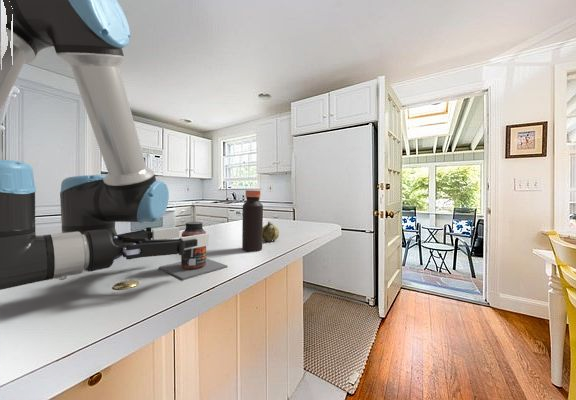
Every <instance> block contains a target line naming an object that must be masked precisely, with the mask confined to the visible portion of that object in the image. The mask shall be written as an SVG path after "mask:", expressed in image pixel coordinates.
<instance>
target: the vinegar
mask: <svg viewBox="0 0 576 400" xmlns="http://www.w3.org/2000/svg"><path fill="white" fill-rule="evenodd" d="M260 198H261V190H245V199H246V201H245V202H244V203H243V204H242V223H241V224H242V230H241V231H242V233H241V234H242V235H241V236H242V237H241V239H242V242H241V243H242V246H241V248H242V250H243V251H244V250H245V251H244V252H250V251H254V252H259V251H258V250H260V251H262V250H263V239H262V234H263V227H264V225H263V223H264V221H263V220H264V219H263V217H264V215H263V214H264V211H263V210H264V205H263V204H262V203H261V201H260Z"/></svg>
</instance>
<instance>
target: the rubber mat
mask: <svg viewBox="0 0 576 400" xmlns="http://www.w3.org/2000/svg"><path fill="white" fill-rule="evenodd" d="M158 268H159V270H162V271H164V272H166V273H168V274H170V275H171V276H174V277H176V278H178V279H180V280H182V281H185V280H189V279H192V278H195V277H199V276H201V275H206V274H209V273H212V272H216V271H219V270H222V269H223V270H224V269H225V268H226V269H227V268H228V264H224V263H221V262H218V261H215V260H212V259H209V258H207V257H206V264H205V266H203V267H201V268H198V269H185V268H183V267H182V266H181V261H178V262H174V263H170V264H165V265H160V266H158Z"/></svg>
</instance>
